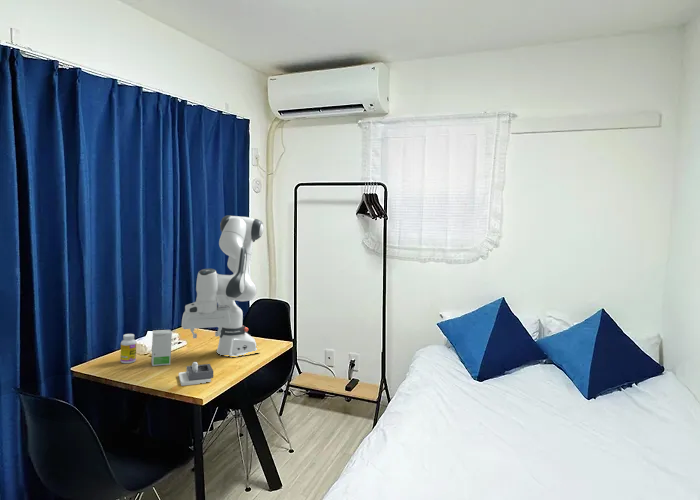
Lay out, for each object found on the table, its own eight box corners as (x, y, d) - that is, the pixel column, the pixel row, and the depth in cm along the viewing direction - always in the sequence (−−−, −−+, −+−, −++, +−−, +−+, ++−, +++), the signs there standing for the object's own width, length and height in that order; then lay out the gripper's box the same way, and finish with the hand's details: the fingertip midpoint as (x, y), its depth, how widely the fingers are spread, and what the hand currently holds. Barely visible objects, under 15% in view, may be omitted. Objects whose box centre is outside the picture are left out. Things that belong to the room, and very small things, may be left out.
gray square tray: (209, 370, 200) (209, 363, 199) (213, 377, 191) (213, 371, 190) (186, 372, 195) (186, 366, 195) (189, 380, 186) (189, 373, 186)
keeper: (206, 372, 200) (207, 356, 199) (210, 382, 189) (211, 365, 189) (178, 375, 195) (178, 359, 194) (181, 385, 184) (181, 368, 183)
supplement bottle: (129, 364, 205) (130, 337, 204) (117, 362, 206) (117, 336, 205) (139, 360, 211) (139, 334, 210) (127, 358, 213) (127, 332, 212)
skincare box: (151, 366, 204) (152, 333, 203) (151, 362, 210) (151, 330, 209) (171, 364, 208) (172, 332, 207) (169, 360, 214) (170, 328, 212)
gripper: (229, 303, 199) (228, 333, 200) (181, 305, 190) (181, 337, 191) (232, 306, 193) (231, 337, 195) (182, 309, 184) (182, 341, 185)
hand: (206, 337), depth 193 cm, fingers open, 8 cm apart
